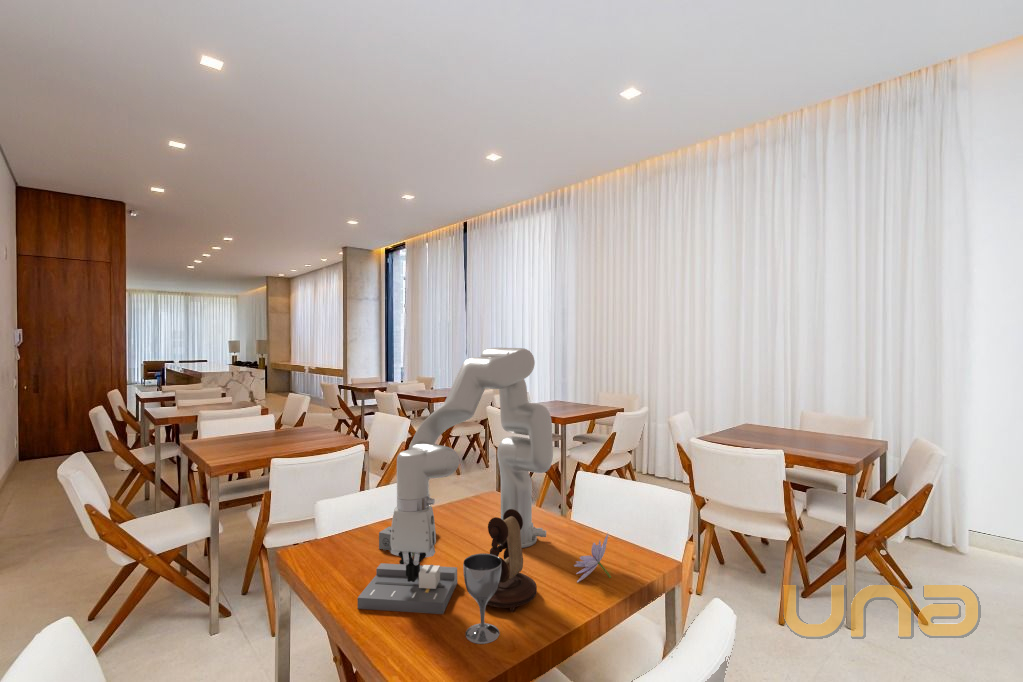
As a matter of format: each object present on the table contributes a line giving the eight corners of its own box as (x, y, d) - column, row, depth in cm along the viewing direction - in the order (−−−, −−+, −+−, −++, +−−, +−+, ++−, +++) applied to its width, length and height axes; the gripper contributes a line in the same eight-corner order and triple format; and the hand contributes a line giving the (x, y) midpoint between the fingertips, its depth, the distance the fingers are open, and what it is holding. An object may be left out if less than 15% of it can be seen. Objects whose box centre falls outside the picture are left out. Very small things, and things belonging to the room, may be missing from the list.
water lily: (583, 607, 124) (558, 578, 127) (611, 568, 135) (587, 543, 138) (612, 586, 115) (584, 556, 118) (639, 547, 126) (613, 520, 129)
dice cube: (393, 552, 141) (393, 534, 141) (379, 549, 143) (378, 532, 143) (403, 545, 146) (403, 528, 146) (389, 542, 148) (389, 526, 148)
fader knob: (440, 580, 118) (439, 565, 118) (435, 589, 114) (435, 573, 114) (423, 579, 119) (423, 564, 119) (418, 588, 115) (418, 572, 115)
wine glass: (463, 623, 105) (463, 554, 105) (500, 621, 106) (500, 552, 106) (463, 646, 97) (463, 571, 97) (502, 644, 98) (502, 569, 98)
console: (457, 583, 123) (457, 567, 123) (443, 614, 109) (443, 596, 109) (380, 578, 125) (380, 563, 125) (357, 608, 111) (357, 591, 111)
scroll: (516, 621, 106) (515, 529, 106) (462, 602, 114) (462, 516, 114) (547, 591, 119) (547, 509, 119) (497, 576, 126) (497, 499, 126)
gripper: (447, 498, 120) (447, 573, 120) (388, 496, 122) (388, 570, 122) (439, 509, 112) (439, 588, 112) (376, 506, 114) (376, 585, 114)
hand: (412, 578), depth 117 cm, fingers closed
